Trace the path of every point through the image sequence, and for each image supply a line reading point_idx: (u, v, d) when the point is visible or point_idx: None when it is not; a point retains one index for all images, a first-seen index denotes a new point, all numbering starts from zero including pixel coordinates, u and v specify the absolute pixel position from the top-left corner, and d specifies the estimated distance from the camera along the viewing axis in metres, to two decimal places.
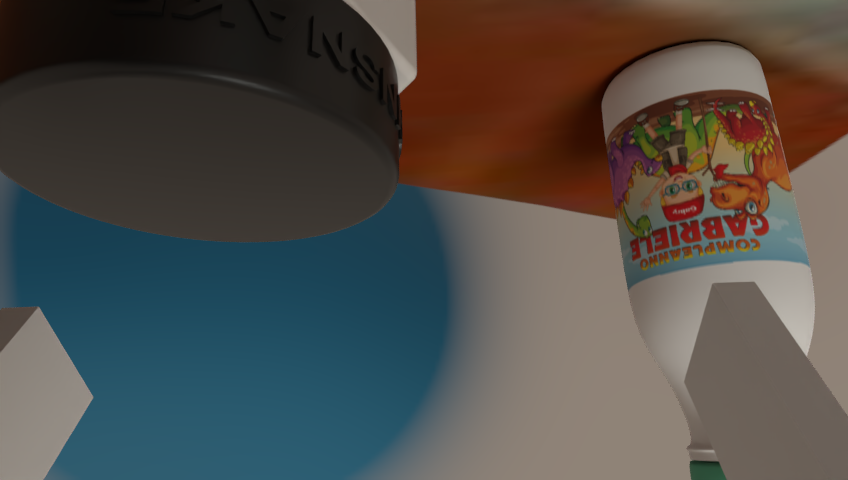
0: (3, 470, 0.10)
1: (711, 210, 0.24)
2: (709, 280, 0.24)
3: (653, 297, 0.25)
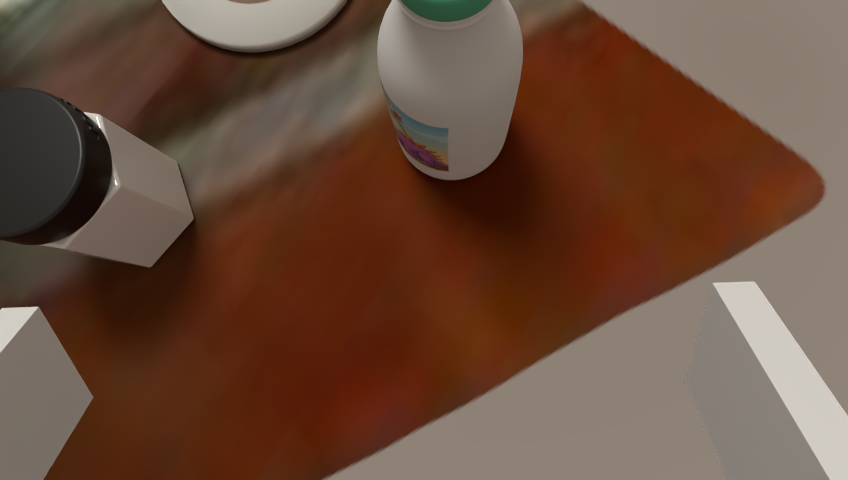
0: (3, 470, 0.10)
1: None
2: None
3: (387, 89, 0.30)
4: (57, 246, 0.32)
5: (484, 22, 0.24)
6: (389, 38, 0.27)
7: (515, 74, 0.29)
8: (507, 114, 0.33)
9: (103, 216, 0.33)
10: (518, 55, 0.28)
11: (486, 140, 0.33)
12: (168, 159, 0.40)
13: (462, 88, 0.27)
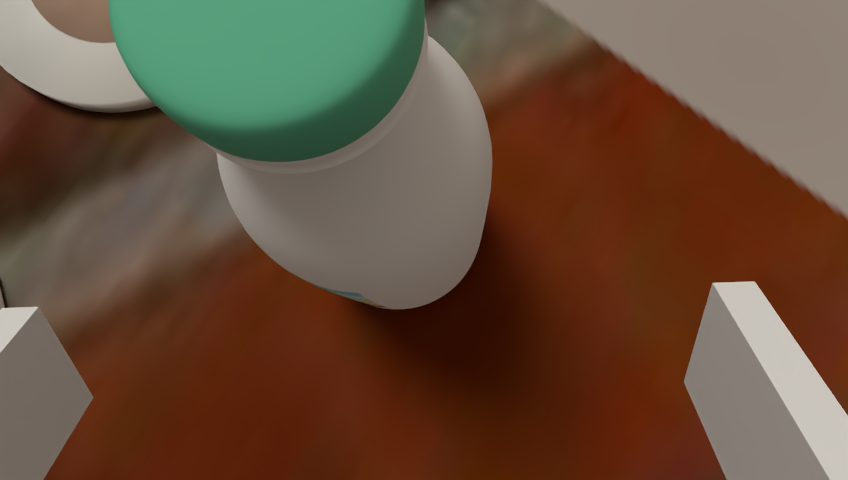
0: (3, 470, 0.10)
1: None
2: None
3: None
4: None
5: (390, 143, 0.11)
6: None
7: (476, 205, 0.15)
8: (470, 247, 0.19)
9: None
10: (480, 173, 0.15)
11: (437, 284, 0.20)
12: None
13: (365, 250, 0.13)
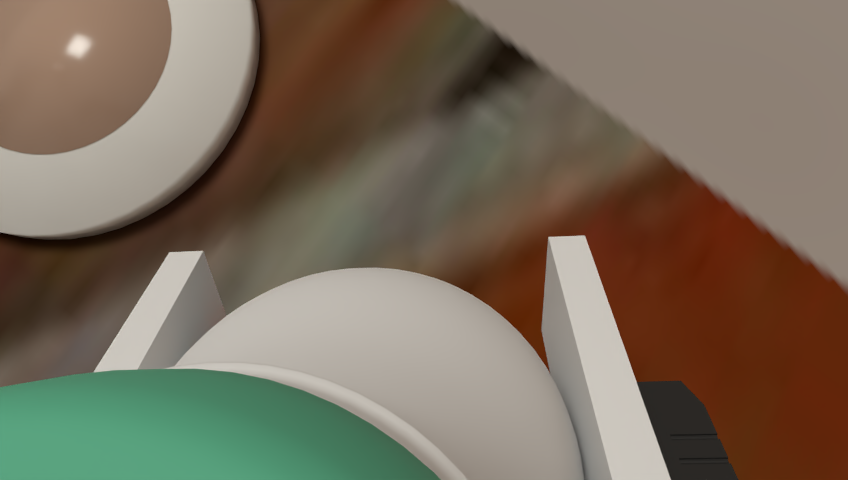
0: None
1: None
2: None
3: None
4: None
5: None
6: None
7: None
8: None
9: None
10: None
11: None
12: None
13: None
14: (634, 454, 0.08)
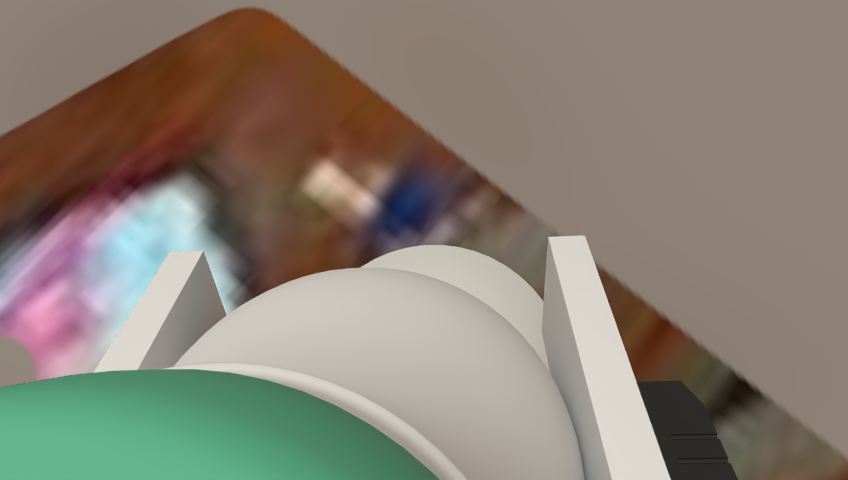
0: None
1: None
2: None
3: None
4: None
5: None
6: None
7: None
8: None
9: None
10: None
11: None
12: None
13: None
14: (634, 454, 0.08)
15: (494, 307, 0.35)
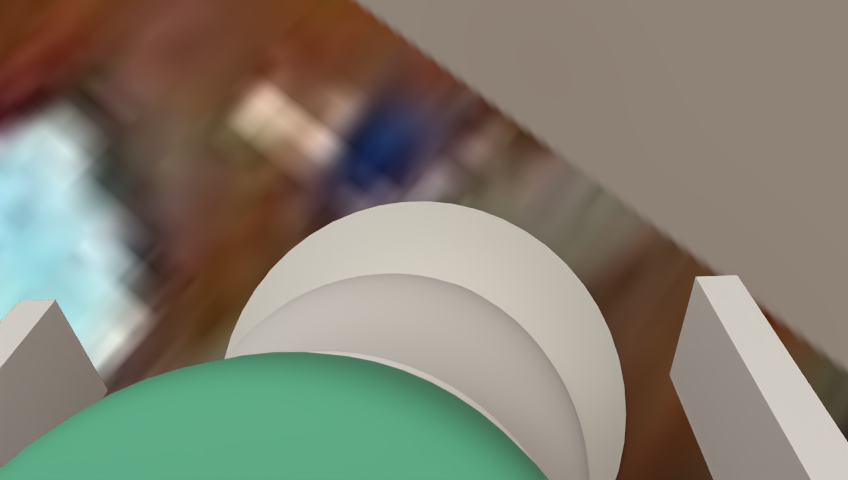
0: None
1: None
2: None
3: None
4: None
5: None
6: None
7: None
8: None
9: None
10: None
11: None
12: None
13: None
14: None
15: (510, 294, 0.23)
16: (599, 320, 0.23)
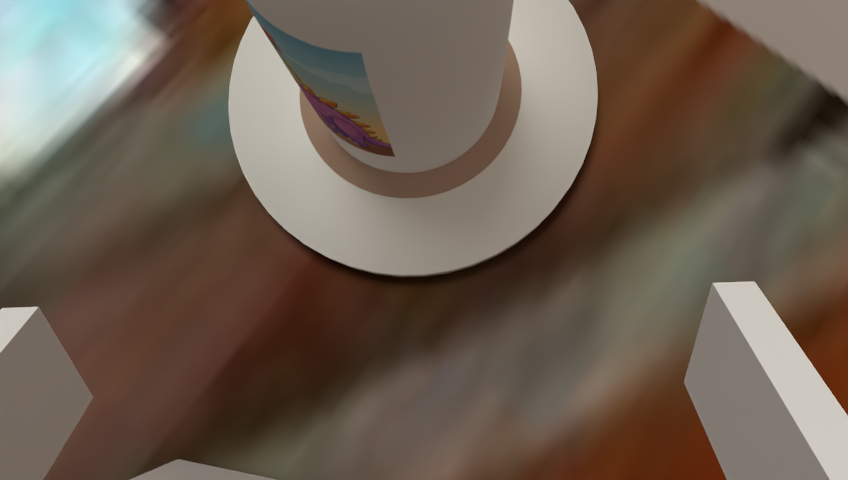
0: (3, 470, 0.10)
1: None
2: None
3: None
4: None
5: None
6: None
7: None
8: (494, 38, 0.16)
9: None
10: None
11: (454, 92, 0.17)
12: None
13: None
14: None
15: None
16: (574, 18, 0.25)
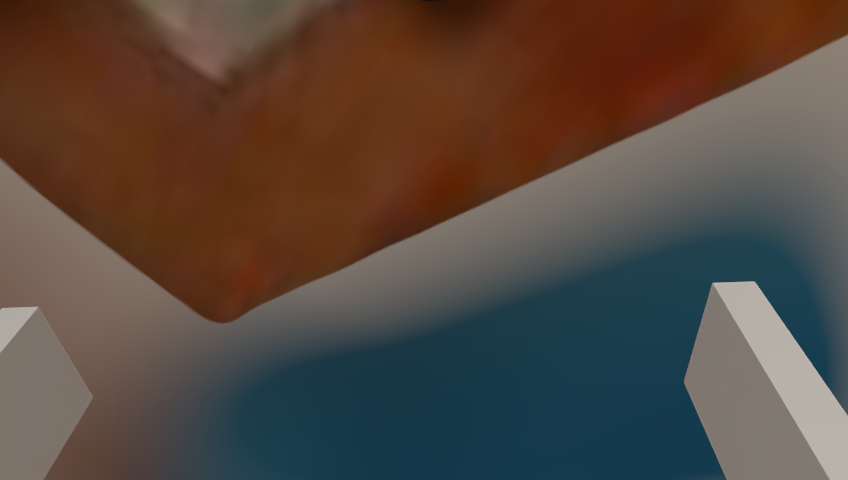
0: (3, 470, 0.10)
1: None
2: None
3: None
4: None
5: None
6: None
7: None
8: None
9: None
10: None
11: None
12: None
13: None
14: None
15: None
16: None
